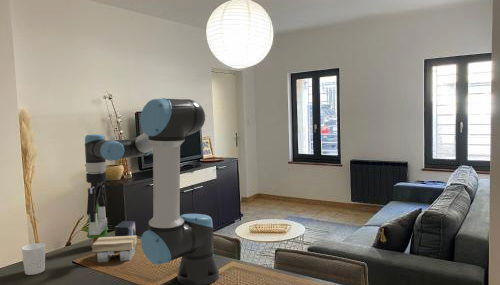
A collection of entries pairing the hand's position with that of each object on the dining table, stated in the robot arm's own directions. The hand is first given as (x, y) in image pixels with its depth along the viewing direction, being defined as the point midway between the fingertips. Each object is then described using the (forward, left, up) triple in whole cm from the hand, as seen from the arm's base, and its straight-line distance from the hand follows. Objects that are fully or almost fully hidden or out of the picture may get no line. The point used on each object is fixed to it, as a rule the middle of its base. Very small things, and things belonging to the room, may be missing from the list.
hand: (98, 225), depth 156 cm
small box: (+18, -7, -15) cm, 24 cm away
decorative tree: (+20, +6, -15) cm, 26 cm away
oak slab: (+4, -6, -11) cm, 12 cm away
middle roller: (+4, -2, -15) cm, 15 cm away
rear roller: (+4, -11, -15) cm, 19 cm away
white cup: (-7, +22, -15) cm, 28 cm away
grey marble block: (0, 0, -2) cm, 2 cm away
